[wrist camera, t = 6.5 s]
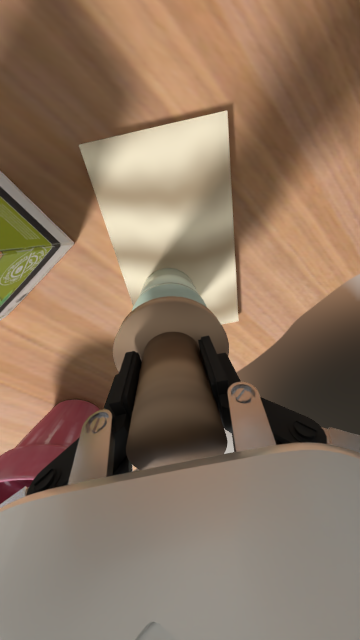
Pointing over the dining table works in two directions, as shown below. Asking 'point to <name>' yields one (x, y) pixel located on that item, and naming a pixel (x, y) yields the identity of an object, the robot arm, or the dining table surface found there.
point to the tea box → (25, 245)
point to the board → (170, 205)
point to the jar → (168, 286)
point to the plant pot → (42, 445)
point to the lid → (171, 382)
